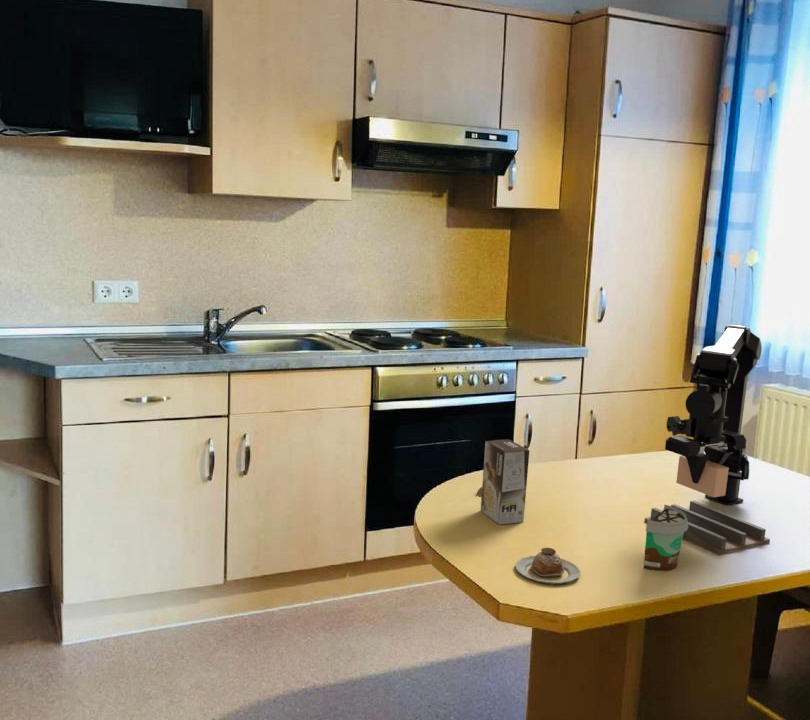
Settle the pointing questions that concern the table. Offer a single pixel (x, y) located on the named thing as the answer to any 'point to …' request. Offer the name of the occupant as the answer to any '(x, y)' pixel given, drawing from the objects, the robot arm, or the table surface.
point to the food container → (664, 539)
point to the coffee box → (504, 481)
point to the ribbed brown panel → (717, 529)
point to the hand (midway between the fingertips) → (701, 481)
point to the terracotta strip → (704, 478)
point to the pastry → (548, 567)
